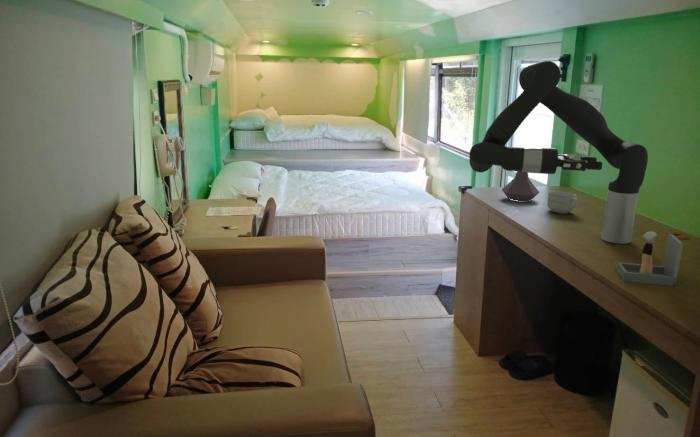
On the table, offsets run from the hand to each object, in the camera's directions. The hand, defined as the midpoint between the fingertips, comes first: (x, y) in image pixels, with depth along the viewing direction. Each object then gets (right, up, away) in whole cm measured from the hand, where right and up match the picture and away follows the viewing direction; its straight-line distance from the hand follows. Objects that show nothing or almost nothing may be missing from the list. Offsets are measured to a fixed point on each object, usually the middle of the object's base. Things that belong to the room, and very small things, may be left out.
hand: (598, 163), depth 151 cm
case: (+11, -32, -3) cm, 34 cm away
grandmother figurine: (+11, -32, -4) cm, 34 cm away
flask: (+6, -8, +88) cm, 89 cm away
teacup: (+16, -14, +67) cm, 70 cm away
